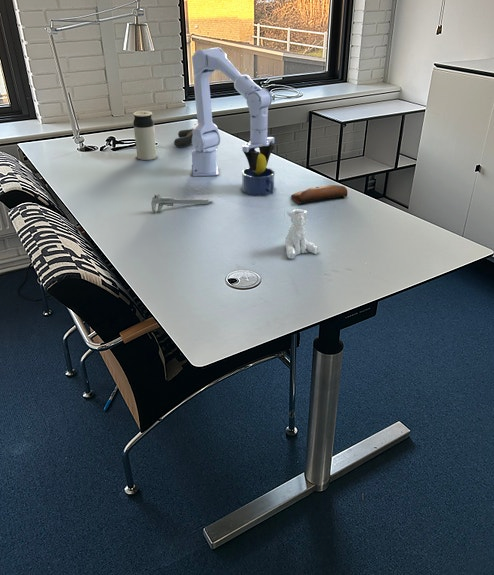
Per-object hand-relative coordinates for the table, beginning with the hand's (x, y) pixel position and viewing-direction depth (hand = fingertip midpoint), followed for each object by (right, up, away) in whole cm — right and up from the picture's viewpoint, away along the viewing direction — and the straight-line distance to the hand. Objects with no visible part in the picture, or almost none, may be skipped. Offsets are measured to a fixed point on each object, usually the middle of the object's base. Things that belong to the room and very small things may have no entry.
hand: (258, 167), depth 182 cm
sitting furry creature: (+10, -31, -35) cm, 48 cm away
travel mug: (-45, +12, +35) cm, 59 cm away
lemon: (0, -2, +1) cm, 3 cm away
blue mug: (+1, -8, +3) cm, 8 cm away
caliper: (-25, -16, -10) cm, 31 cm away
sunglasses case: (+21, -11, -2) cm, 23 cm away
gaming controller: (-31, +23, +53) cm, 65 cm away
